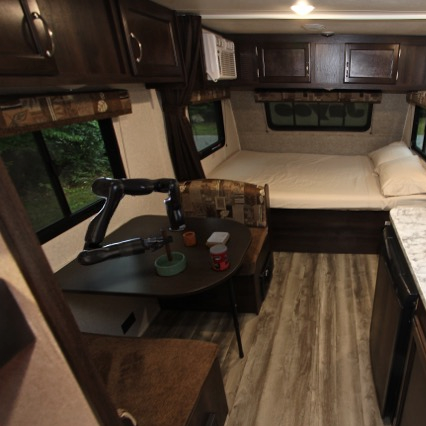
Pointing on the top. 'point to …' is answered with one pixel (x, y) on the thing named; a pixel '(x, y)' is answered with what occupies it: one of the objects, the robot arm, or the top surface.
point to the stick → (166, 245)
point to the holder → (189, 238)
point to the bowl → (170, 264)
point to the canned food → (219, 257)
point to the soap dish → (217, 239)
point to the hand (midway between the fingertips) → (172, 238)
